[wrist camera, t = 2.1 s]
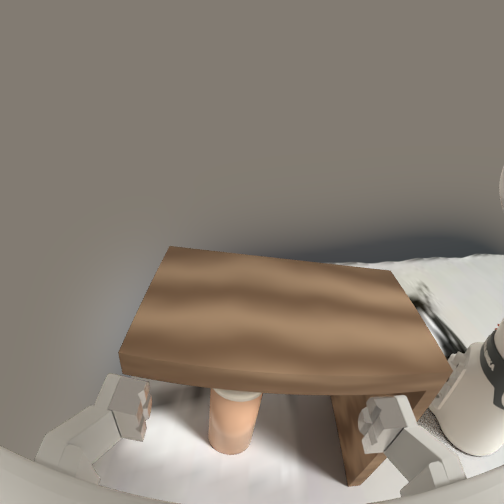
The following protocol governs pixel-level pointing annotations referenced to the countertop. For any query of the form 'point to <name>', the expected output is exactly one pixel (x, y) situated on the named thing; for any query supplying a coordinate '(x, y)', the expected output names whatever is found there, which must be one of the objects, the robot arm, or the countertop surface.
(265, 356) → the shelf
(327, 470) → the countertop surface
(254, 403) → the jar
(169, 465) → the countertop surface
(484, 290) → the countertop surface
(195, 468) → the countertop surface
